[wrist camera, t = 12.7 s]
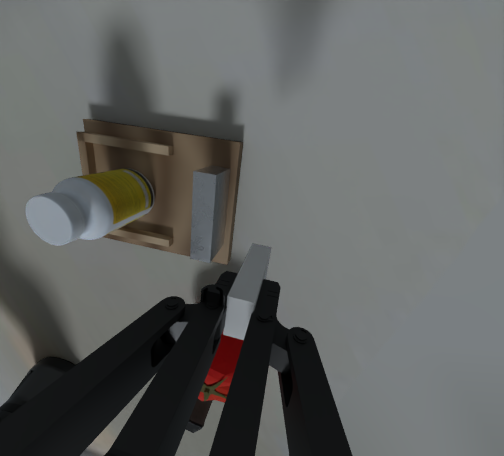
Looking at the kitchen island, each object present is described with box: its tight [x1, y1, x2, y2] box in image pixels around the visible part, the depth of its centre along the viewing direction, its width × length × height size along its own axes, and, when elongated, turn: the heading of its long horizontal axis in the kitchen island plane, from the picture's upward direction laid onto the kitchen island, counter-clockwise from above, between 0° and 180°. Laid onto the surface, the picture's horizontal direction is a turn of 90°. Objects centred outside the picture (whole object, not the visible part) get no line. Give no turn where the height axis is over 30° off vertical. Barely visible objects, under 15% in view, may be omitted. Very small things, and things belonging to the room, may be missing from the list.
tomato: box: [198, 329, 244, 403], centre depth 34 cm, size 11×13×10 cm
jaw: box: [190, 165, 231, 263], centre depth 27 cm, size 2×10×5 cm, turn 173°
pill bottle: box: [26, 168, 154, 245], centre depth 26 cm, size 6×6×12 cm
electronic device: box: [186, 399, 212, 433], centre depth 41 cm, size 4×10×8 cm, turn 50°
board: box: [77, 119, 243, 265], centre depth 31 cm, size 20×16×3 cm
